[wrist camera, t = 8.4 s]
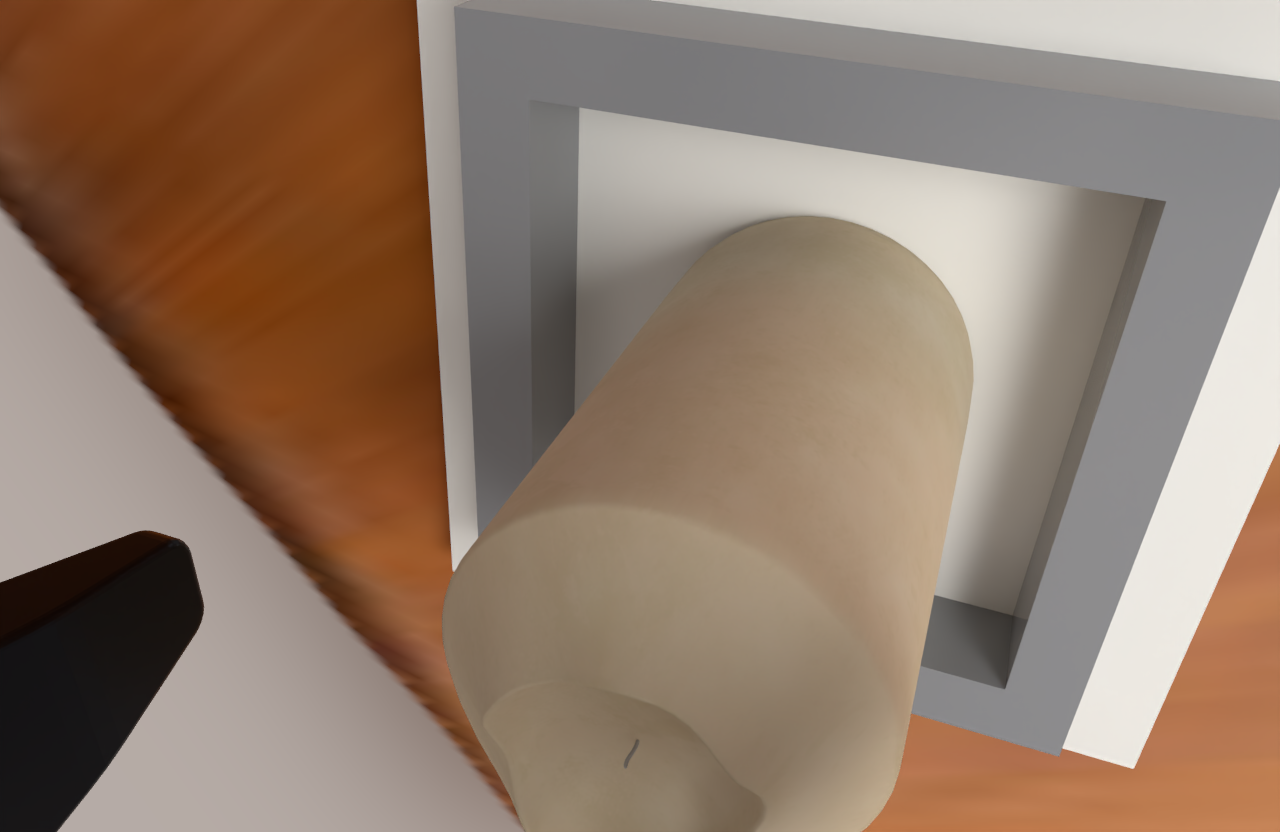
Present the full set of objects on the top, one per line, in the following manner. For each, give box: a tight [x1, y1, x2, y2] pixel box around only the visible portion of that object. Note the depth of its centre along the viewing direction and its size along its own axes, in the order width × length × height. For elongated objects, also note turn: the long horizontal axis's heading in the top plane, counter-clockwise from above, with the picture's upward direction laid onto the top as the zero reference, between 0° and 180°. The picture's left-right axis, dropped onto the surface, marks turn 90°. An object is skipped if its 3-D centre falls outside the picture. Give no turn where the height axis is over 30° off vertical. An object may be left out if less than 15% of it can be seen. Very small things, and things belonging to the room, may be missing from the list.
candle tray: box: [417, 0, 1280, 769], centre depth 19 cm, size 15×15×3 cm
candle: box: [442, 216, 974, 832], centre depth 15 cm, size 6×6×10 cm
